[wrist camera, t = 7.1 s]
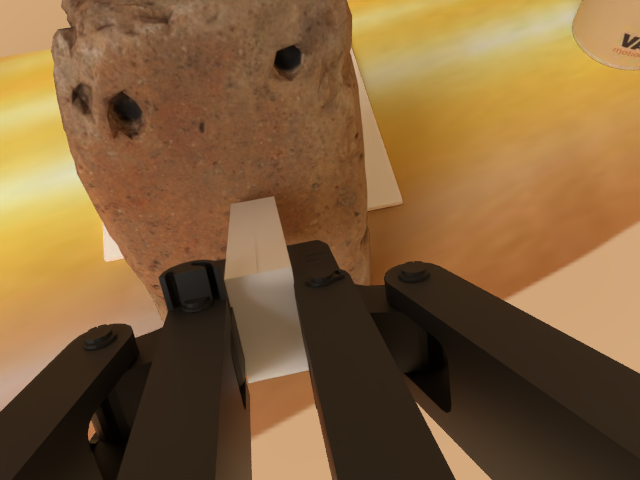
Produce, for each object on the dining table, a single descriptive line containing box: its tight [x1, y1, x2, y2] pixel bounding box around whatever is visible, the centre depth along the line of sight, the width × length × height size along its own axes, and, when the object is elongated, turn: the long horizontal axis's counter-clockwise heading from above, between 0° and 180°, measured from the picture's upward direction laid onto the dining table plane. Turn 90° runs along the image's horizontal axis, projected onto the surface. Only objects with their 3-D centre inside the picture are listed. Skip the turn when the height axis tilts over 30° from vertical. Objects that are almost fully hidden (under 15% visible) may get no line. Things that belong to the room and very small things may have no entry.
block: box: [51, 0, 371, 322], centre depth 22 cm, size 11×8×20 cm
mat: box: [103, 47, 403, 262], centre depth 36 cm, size 20×16×1 cm
